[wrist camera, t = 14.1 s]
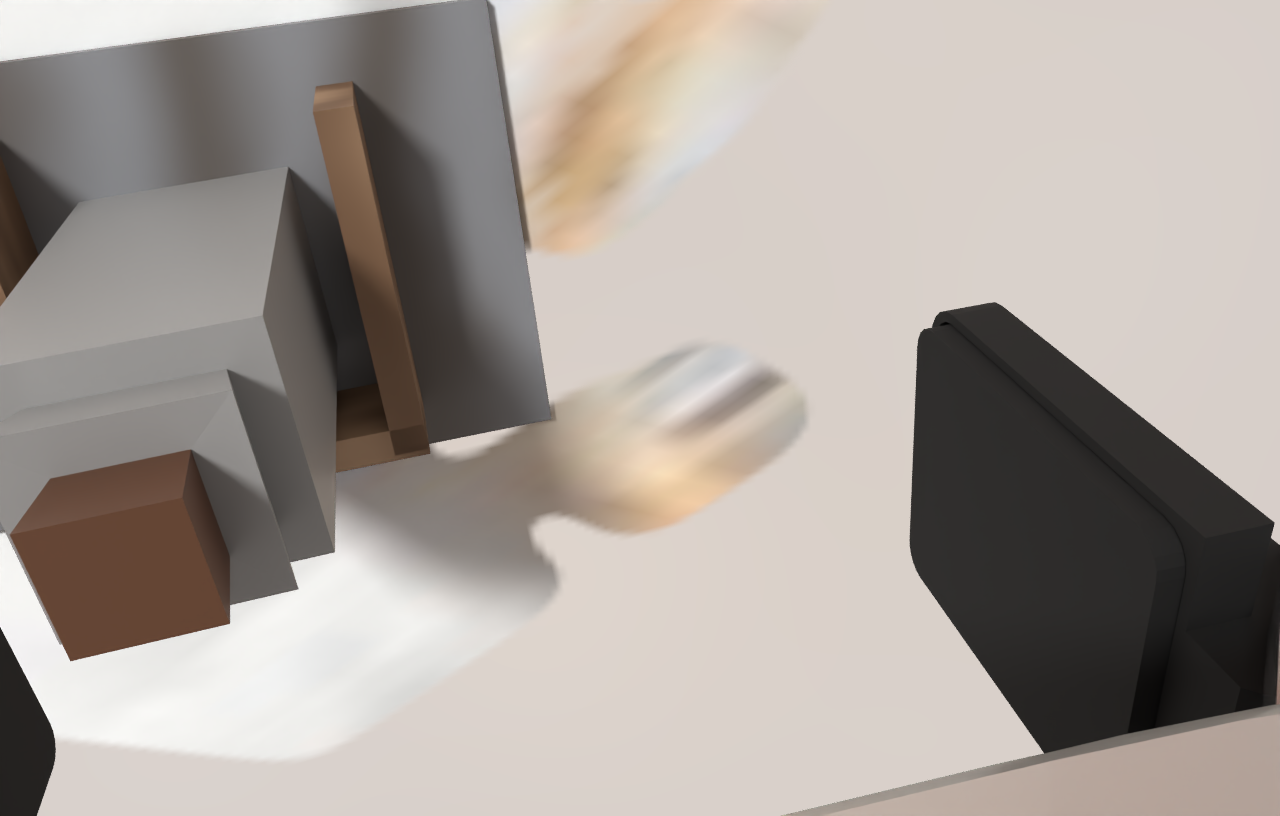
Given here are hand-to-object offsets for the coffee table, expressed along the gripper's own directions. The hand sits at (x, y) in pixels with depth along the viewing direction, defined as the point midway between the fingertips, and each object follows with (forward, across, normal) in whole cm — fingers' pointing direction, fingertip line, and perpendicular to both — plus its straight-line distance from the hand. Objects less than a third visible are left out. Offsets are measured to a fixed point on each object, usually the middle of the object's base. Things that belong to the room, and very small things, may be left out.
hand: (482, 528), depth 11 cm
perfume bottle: (+29, +8, +7) cm, 31 cm away
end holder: (+29, +8, +7) cm, 31 cm away
